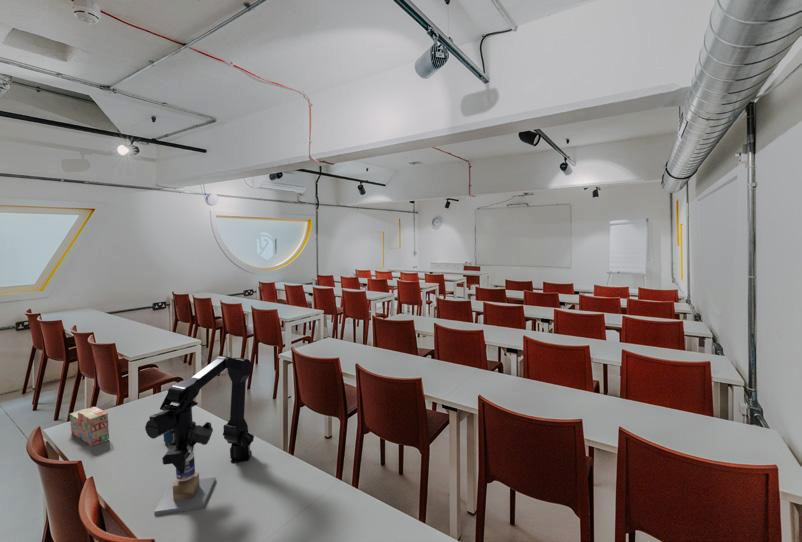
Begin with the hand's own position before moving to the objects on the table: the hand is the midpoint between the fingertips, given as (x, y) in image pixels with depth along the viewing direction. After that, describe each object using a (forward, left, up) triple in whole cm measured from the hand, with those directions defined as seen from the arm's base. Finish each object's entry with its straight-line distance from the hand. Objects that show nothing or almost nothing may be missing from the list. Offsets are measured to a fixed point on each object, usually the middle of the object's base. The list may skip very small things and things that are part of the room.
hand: (185, 467), depth 123 cm
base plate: (0, 0, -10) cm, 10 cm away
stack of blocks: (+56, -51, -11) cm, 76 cm away
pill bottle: (0, 0, -3) cm, 3 cm away
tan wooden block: (0, 0, -9) cm, 9 cm away
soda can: (+18, -39, -10) cm, 44 cm away
